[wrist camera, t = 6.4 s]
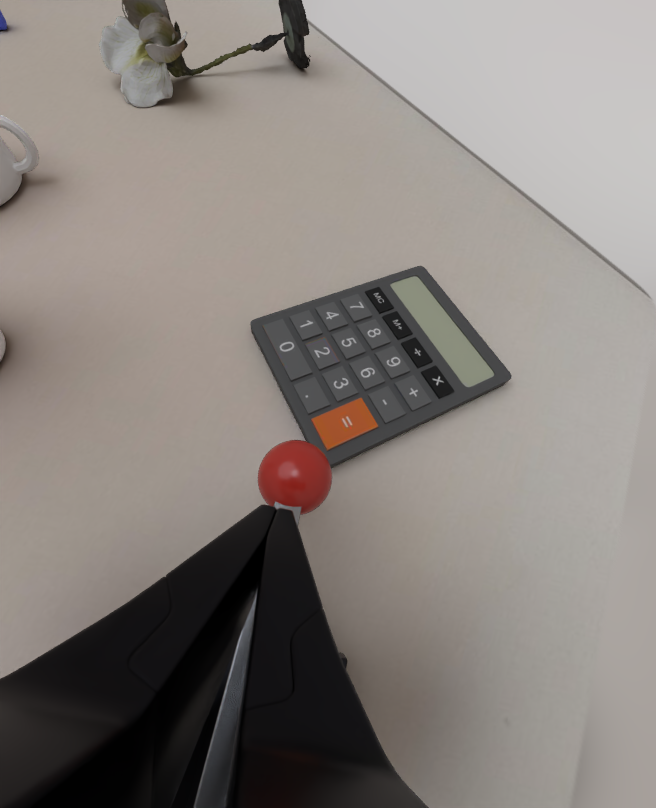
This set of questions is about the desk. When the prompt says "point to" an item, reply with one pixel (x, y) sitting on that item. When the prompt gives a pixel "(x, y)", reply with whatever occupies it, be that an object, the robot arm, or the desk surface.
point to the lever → (282, 488)
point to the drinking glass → (2, 345)
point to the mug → (14, 160)
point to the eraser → (2, 22)
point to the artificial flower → (176, 48)
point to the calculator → (375, 361)
